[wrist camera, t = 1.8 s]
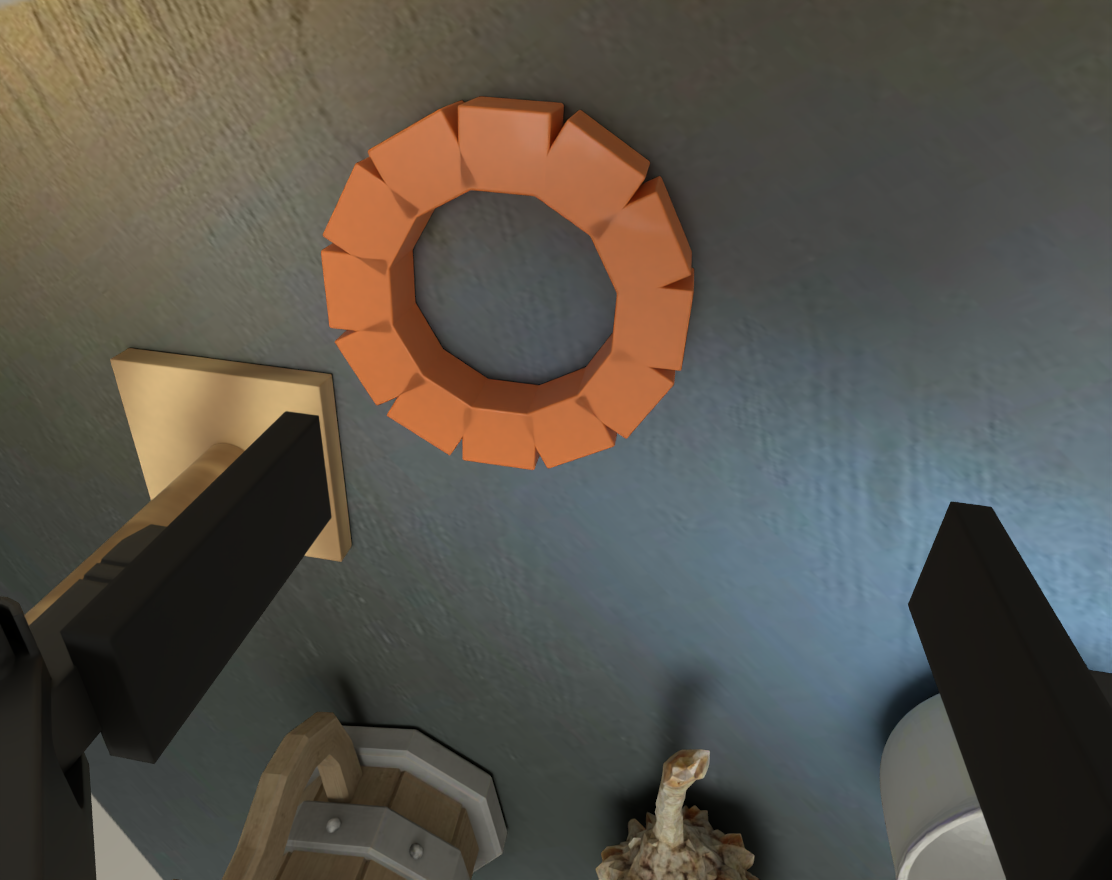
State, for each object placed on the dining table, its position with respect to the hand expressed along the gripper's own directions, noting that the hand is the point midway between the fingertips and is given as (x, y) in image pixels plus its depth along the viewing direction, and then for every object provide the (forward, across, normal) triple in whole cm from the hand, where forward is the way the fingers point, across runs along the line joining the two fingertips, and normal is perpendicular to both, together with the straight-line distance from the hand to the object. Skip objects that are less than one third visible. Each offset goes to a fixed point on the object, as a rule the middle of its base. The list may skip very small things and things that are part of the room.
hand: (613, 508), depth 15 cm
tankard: (+13, -12, -29) cm, 33 cm away
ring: (+12, -5, 0) cm, 13 cm away
